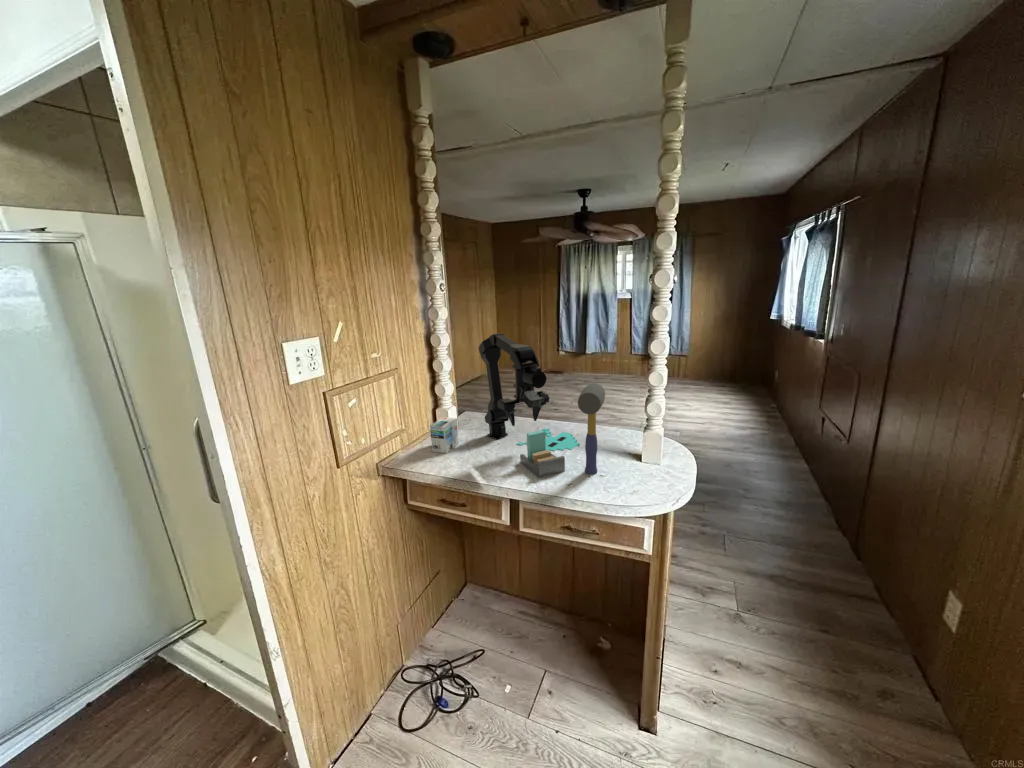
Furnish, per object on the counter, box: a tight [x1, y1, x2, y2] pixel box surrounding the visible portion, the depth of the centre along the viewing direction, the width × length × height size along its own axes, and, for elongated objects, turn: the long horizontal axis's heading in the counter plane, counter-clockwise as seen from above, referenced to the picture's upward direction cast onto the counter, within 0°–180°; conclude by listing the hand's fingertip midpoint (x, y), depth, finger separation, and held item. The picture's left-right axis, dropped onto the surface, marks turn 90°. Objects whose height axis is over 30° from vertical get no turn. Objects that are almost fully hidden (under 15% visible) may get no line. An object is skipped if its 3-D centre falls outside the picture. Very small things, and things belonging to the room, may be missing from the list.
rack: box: [518, 453, 566, 479], centre depth 132 cm, size 14×10×6 cm
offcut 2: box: [537, 455, 555, 462], centre depth 129 cm, size 2×6×4 cm, turn 116°
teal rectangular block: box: [526, 429, 546, 461], centre depth 133 cm, size 2×6×11 cm, turn 116°
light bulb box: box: [429, 416, 460, 454], centre depth 153 cm, size 11×7×11 cm, turn 161°
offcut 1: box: [532, 450, 552, 465], centre depth 131 cm, size 2×6×5 cm, turn 116°
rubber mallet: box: [577, 382, 606, 476], centre depth 124 cm, size 12×8×30 cm, turn 160°
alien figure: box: [515, 427, 581, 452], centre depth 153 cm, size 20×2×20 cm
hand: (524, 423), depth 143 cm, fingers open, 9 cm apart
